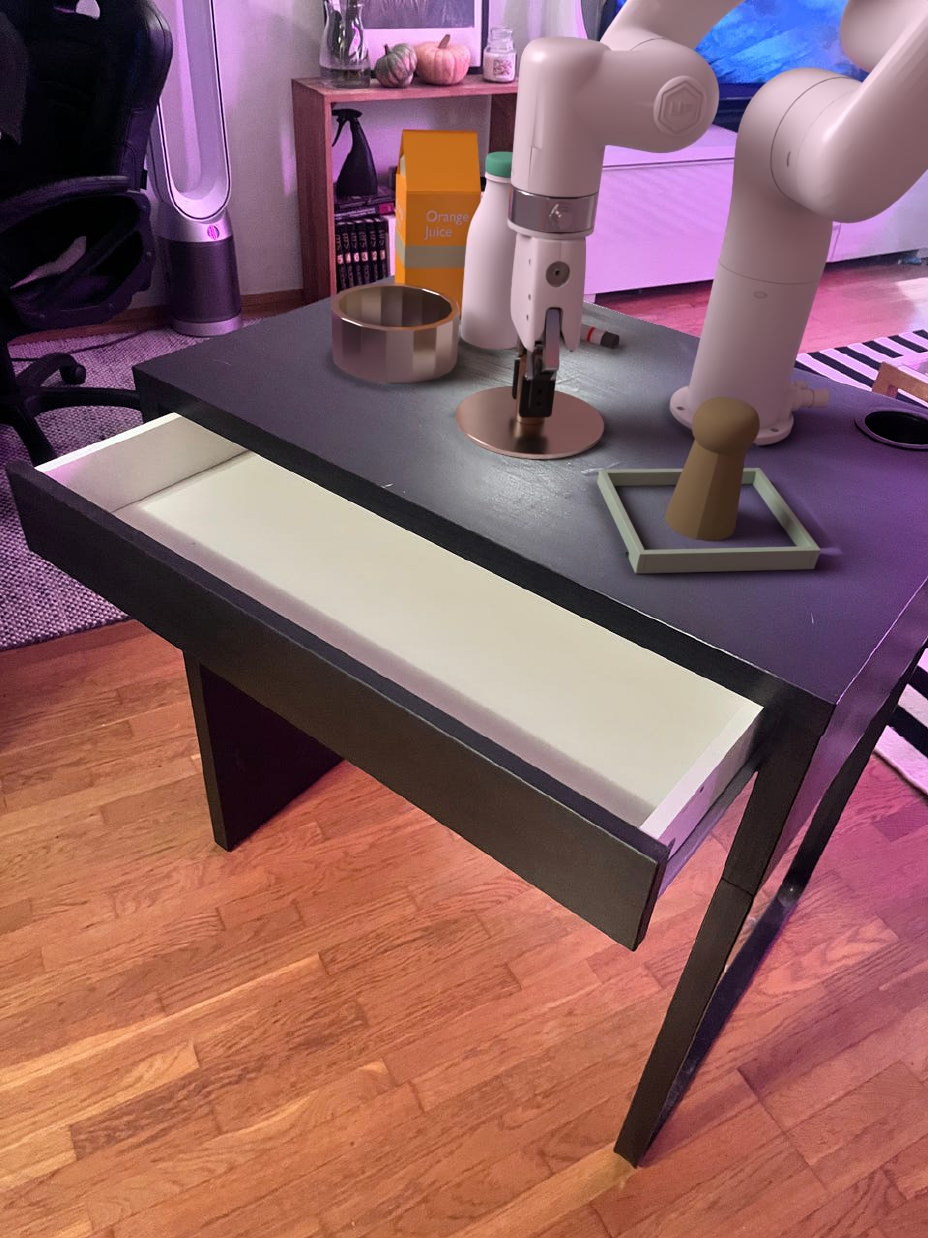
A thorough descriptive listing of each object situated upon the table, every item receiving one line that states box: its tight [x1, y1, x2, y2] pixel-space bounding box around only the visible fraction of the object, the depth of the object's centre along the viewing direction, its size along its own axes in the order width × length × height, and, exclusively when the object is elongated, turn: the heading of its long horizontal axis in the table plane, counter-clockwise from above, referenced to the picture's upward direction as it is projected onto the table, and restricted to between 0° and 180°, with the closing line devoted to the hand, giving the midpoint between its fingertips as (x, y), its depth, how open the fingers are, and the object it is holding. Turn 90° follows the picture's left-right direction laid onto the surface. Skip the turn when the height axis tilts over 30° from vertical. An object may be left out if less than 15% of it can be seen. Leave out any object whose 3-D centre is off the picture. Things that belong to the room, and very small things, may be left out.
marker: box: [580, 322, 621, 350], centre depth 111 cm, size 15×2×2 cm, turn 54°
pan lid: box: [454, 354, 605, 460], centre depth 89 cm, size 15×15×7 cm
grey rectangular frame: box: [596, 467, 822, 574], centre depth 78 cm, size 15×13×2 cm
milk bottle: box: [460, 151, 518, 351], centre depth 102 cm, size 8×8×20 cm
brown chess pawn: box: [664, 397, 760, 542], centre depth 75 cm, size 6×6×11 cm
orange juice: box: [394, 128, 482, 318], centre depth 109 cm, size 8×9×20 cm
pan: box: [330, 282, 461, 384], centre depth 100 cm, size 14×14×6 cm
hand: (531, 405), depth 90 cm, fingers closed on pan lid, 3 cm apart
